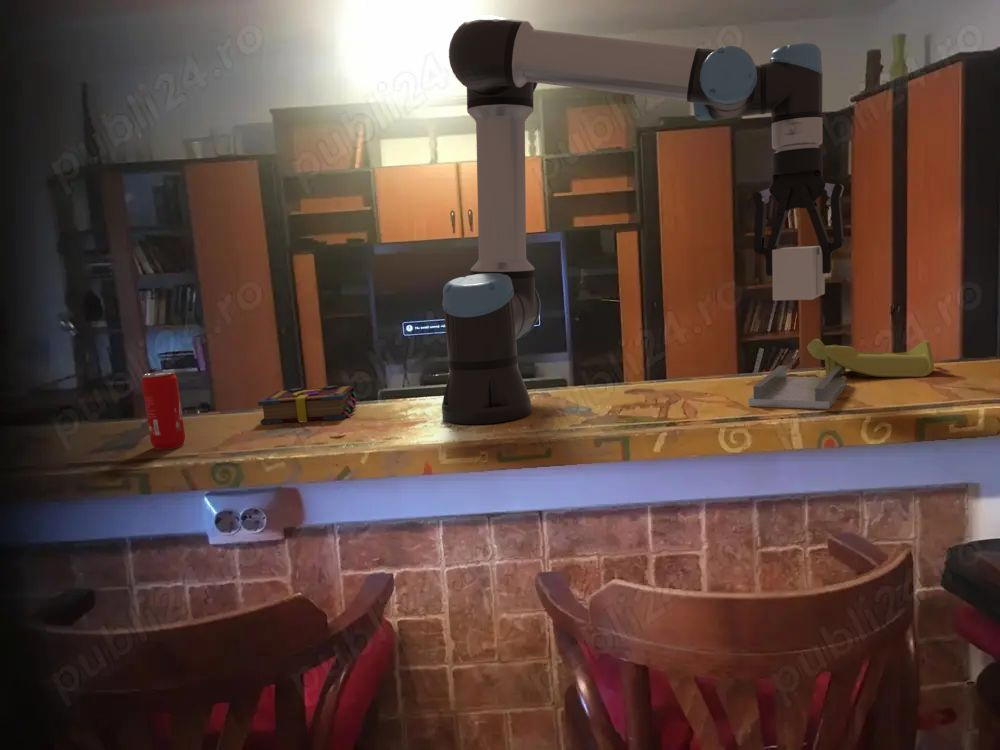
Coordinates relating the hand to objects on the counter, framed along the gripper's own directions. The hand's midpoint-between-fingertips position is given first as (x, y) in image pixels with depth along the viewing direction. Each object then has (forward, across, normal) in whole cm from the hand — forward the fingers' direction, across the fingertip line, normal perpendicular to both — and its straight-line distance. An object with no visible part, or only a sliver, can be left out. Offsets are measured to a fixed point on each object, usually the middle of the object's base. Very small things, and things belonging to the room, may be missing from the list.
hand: (798, 294), depth 128 cm
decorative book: (+17, -79, -32) cm, 87 cm away
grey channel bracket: (+17, 0, 0) cm, 17 cm away
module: (0, 0, 0) cm, 0 cm away
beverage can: (+17, -87, -57) cm, 105 cm away
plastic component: (+17, +8, +22) cm, 29 cm away
